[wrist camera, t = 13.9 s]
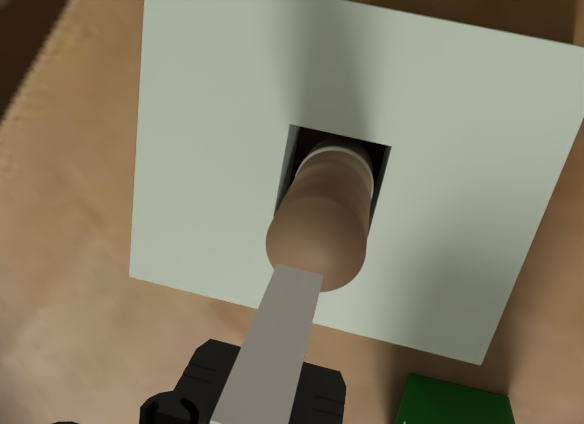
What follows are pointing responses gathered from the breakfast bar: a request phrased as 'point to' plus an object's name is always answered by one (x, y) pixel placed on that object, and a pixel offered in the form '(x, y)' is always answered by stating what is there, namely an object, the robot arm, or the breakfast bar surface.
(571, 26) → the breakfast bar surface
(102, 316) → the breakfast bar surface
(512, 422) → the milk carton
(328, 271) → the peg
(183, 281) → the board
